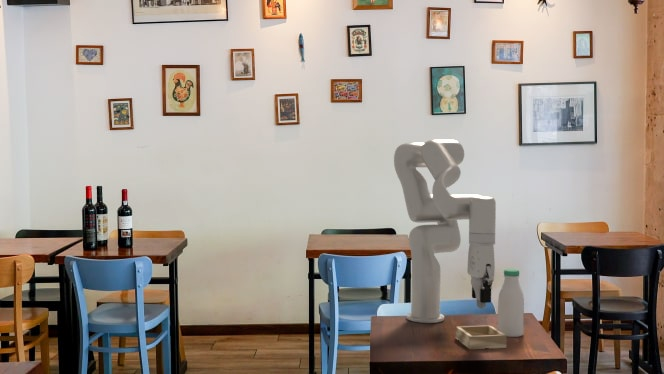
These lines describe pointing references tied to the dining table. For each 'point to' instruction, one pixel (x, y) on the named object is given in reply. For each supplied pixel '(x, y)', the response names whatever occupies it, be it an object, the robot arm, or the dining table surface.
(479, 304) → the lightbulb
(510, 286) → the milk bottle
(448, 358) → the dining table surface
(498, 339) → the holder
